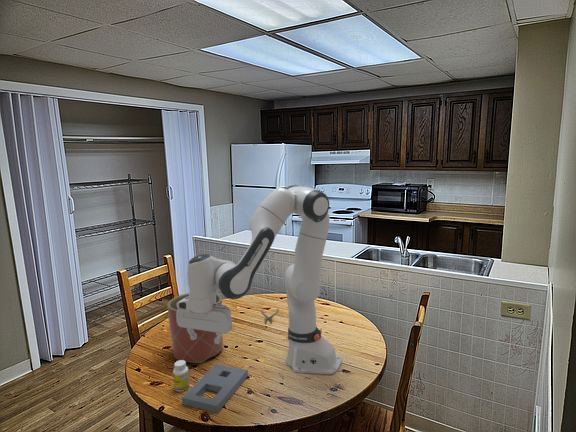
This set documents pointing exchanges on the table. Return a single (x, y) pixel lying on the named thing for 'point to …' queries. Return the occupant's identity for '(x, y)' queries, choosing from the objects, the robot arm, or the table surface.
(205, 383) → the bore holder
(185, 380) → the supplement bottle
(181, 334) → the planter
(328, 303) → the table surface
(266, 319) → the pliers
